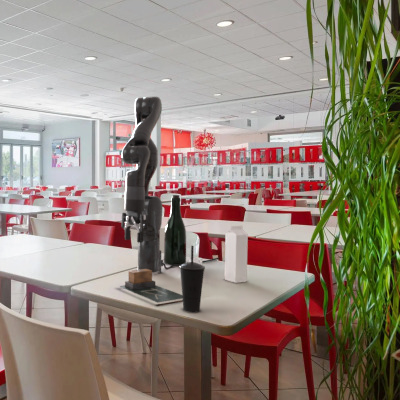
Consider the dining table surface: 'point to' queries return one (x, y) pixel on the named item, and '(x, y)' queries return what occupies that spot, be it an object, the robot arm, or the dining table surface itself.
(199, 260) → the container set
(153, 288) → the chalkboard
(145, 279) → the eraser
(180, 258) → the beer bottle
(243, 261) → the milk
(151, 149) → the robot arm
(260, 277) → the dining table surface
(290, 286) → the dining table surface
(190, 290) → the drinking cup
